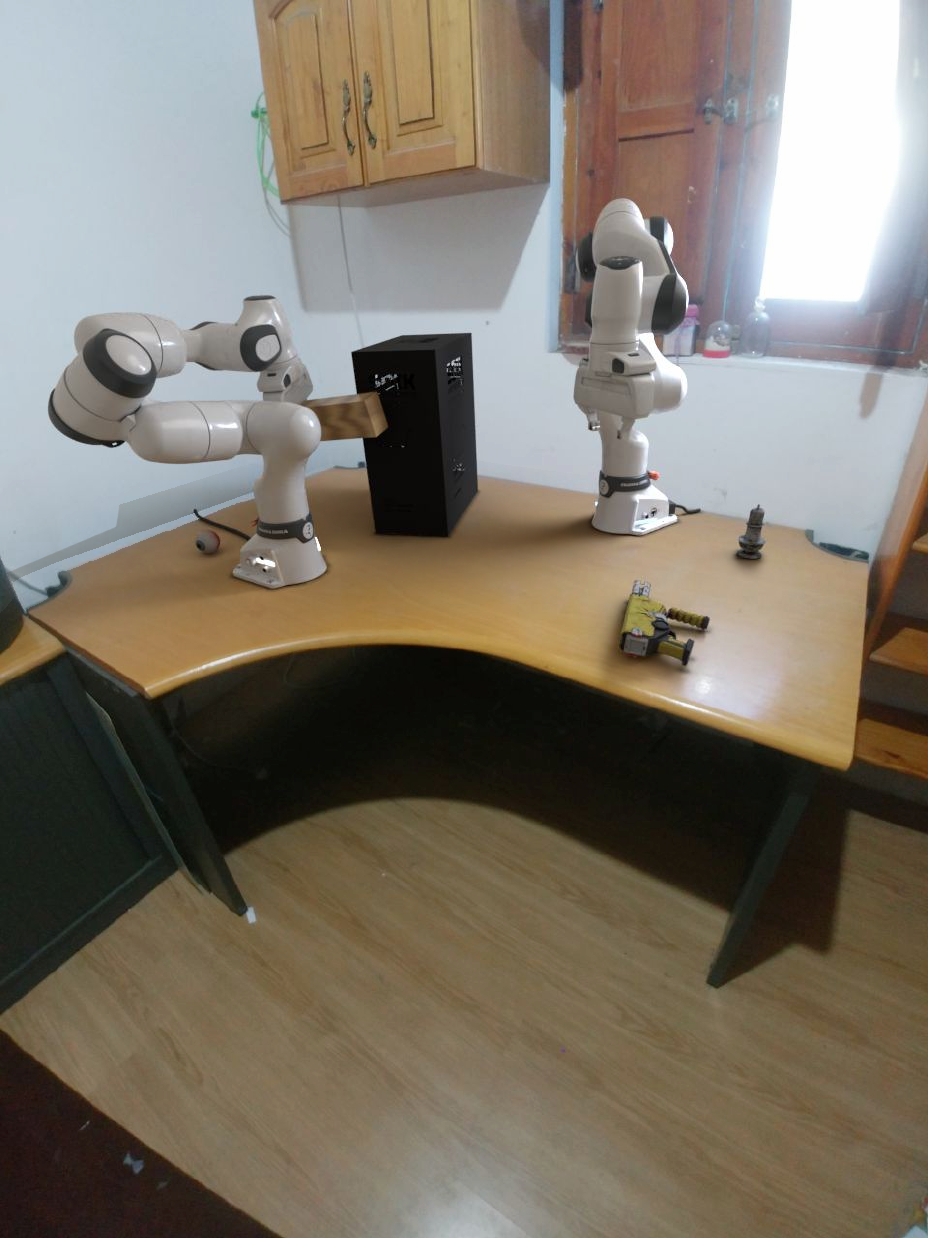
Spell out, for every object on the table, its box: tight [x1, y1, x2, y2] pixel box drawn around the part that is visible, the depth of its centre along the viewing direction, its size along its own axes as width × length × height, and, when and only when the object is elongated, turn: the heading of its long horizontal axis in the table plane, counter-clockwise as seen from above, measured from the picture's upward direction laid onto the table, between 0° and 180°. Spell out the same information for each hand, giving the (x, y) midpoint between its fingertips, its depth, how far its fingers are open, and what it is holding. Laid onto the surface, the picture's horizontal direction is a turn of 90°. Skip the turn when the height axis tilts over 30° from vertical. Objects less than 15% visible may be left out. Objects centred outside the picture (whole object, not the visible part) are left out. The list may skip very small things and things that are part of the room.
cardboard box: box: [350, 332, 479, 538], centre depth 164 cm, size 38×20×45 cm, turn 167°
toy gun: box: [617, 579, 711, 667], centre depth 111 cm, size 5×24×15 cm
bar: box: [300, 392, 388, 442], centre depth 146 cm, size 26×6×8 cm, turn 64°
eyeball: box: [194, 529, 221, 554], centre depth 155 cm, size 6×6×6 cm
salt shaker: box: [736, 503, 767, 560], centre depth 136 cm, size 6×6×12 cm
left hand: (300, 424), depth 151 cm, fingers closed on bar, 6 cm apart
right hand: (607, 434), depth 118 cm, fingers open, 8 cm apart
